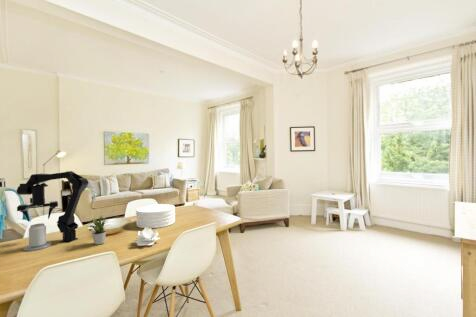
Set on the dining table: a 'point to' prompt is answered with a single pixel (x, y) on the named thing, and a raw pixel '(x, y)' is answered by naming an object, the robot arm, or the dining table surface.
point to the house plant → (98, 230)
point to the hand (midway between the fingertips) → (38, 220)
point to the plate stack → (155, 216)
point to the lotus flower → (147, 237)
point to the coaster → (37, 247)
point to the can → (37, 235)
